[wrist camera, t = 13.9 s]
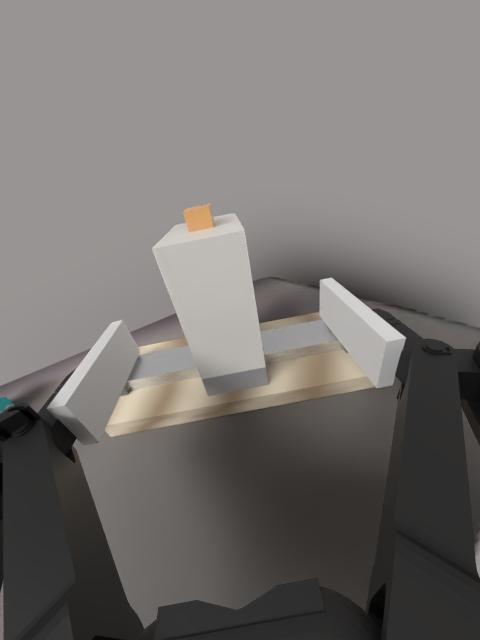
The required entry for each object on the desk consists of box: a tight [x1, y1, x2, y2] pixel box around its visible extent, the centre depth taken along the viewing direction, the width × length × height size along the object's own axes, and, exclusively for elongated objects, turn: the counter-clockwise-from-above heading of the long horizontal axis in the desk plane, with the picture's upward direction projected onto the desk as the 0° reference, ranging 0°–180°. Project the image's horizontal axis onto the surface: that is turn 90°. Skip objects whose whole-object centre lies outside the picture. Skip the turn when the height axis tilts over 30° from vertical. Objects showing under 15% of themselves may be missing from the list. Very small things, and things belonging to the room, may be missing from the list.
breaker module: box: [152, 204, 268, 396], centre depth 18 cm, size 5×8×13 cm, turn 5°
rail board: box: [105, 312, 375, 437], centre depth 22 cm, size 22×10×2 cm, turn 95°
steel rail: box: [120, 320, 348, 396], centre depth 21 cm, size 22×4×2 cm, turn 95°
